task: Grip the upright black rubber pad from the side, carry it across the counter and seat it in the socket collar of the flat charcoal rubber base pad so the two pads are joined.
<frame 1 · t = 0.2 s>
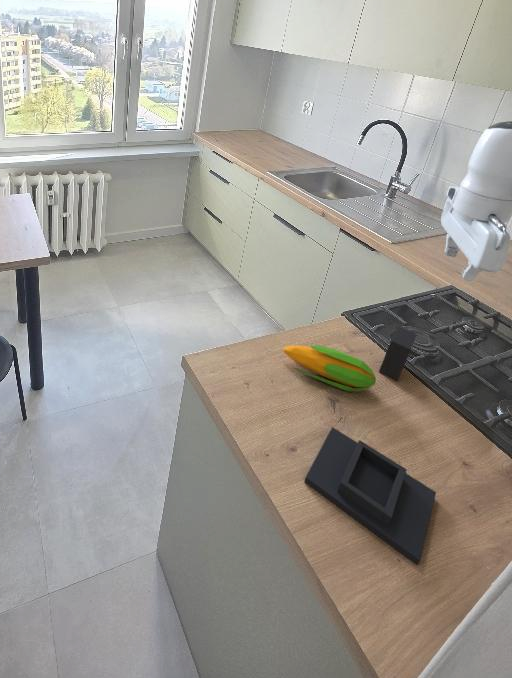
hand: (457, 266, 85), 33 cm above the counter, tool pointing down, fingers open, 8 cm apart
upright pad: (391, 368, 102), on the counter
corn: (323, 377, 99), on the counter
base pad: (368, 489, 76), on the counter
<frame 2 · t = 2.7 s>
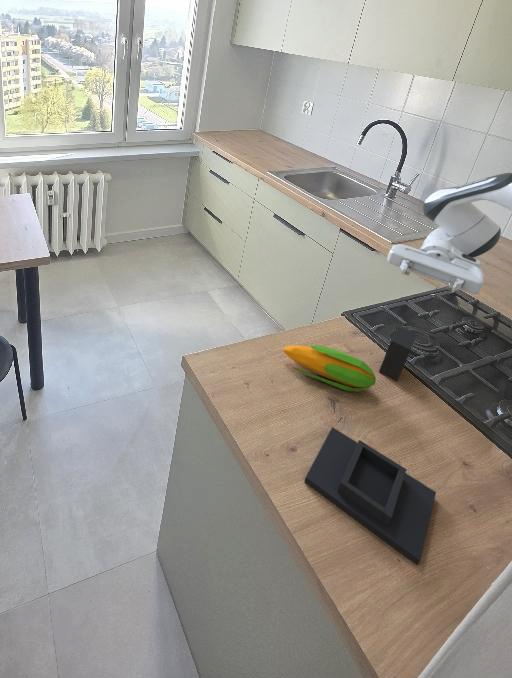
hand: (427, 280, 102), 20 cm above the counter, tool horizontal, fingers open, 8 cm apart
nothing on the counter moved.
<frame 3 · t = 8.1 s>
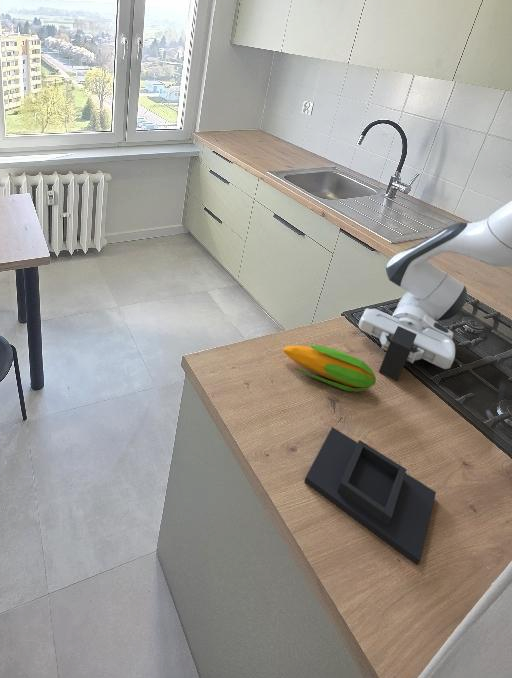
hand: (397, 353, 99), 6 cm above the counter, tool horizontal, fingers closed on upright pad, 4 cm apart
upright pad: (391, 368, 102), on the counter, touching gripper
everything else where it was.
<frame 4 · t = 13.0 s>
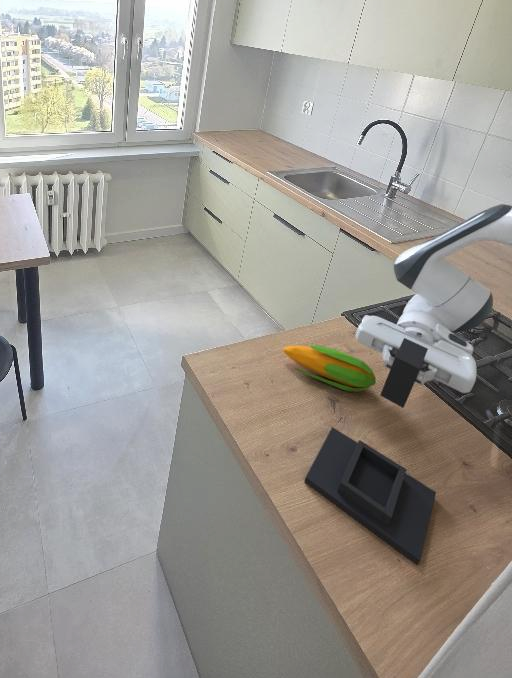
hand: (403, 373, 79), 17 cm above the counter, tool horizontal, fingers closed on upright pad, 4 cm apart
upright pad: (396, 390, 82), point 11 cm above the counter, touching gripper
everything else where it was.
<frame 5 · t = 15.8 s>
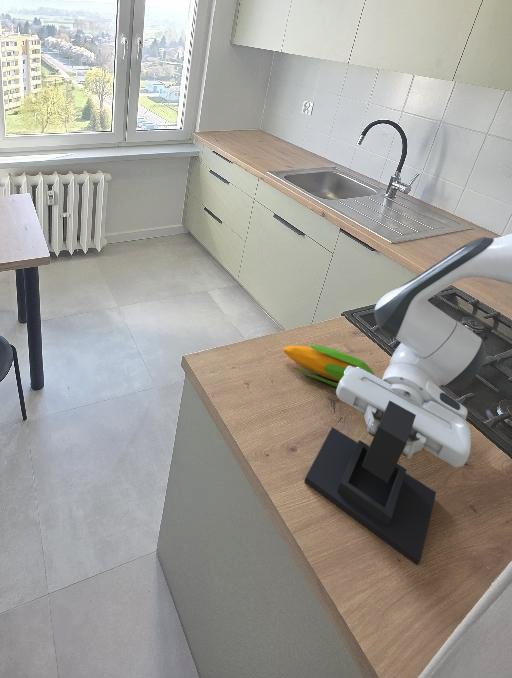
hand: (388, 442, 70), 14 cm above the counter, tool horizontal, fingers closed on upright pad, 4 cm apart
upright pad: (379, 460, 72), point 8 cm above the counter, touching gripper
everything else where it was.
when the fingers open (7 cm above the counter, at t = 18.0 s): upright pad stays where it is, resting on base pad.
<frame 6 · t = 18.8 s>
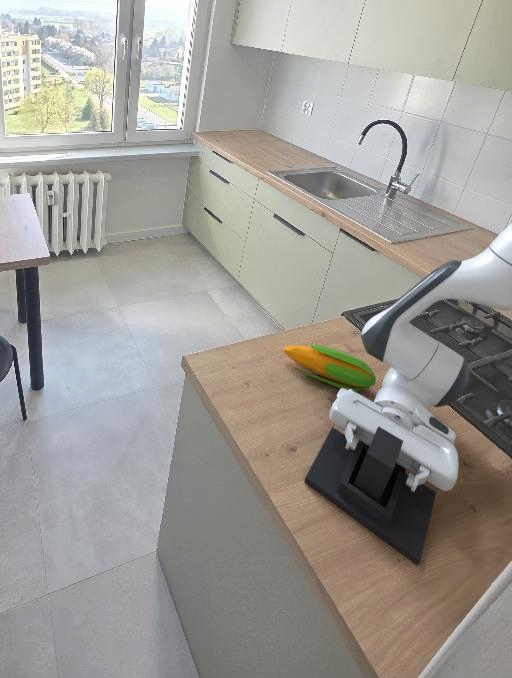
hand: (378, 466, 72), 8 cm above the counter, tool horizontal, fingers open, 8 cm apart
upright pad: (369, 483, 75), point 1 cm above the counter, touching base pad
everything else where it was.
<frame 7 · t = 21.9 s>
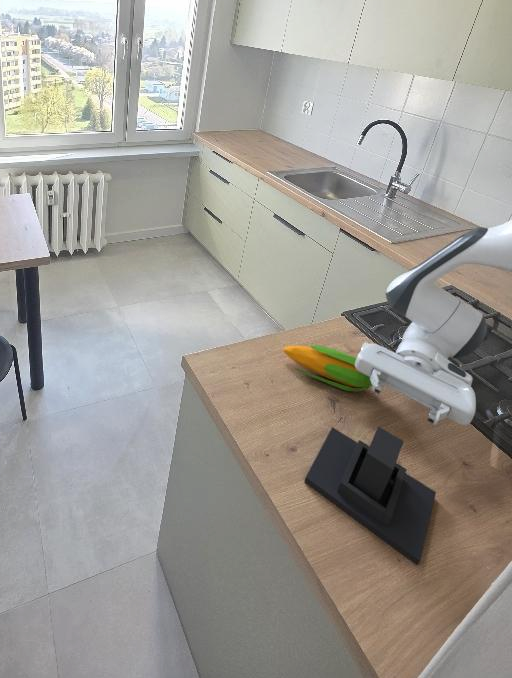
hand: (403, 405, 79), 11 cm above the counter, tool horizontal, fingers open, 8 cm apart
nothing on the counter moved.
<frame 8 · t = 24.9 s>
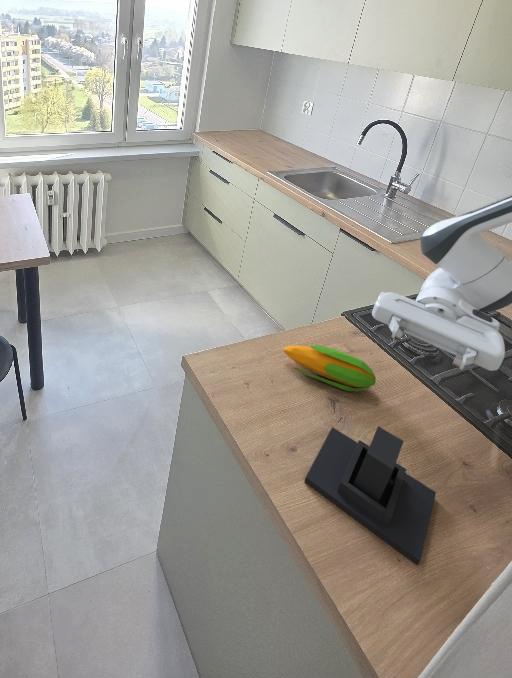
hand: (426, 350, 74), 25 cm above the counter, tool horizontal, fingers open, 8 cm apart
nothing on the counter moved.
at the end: upright pad 0.2 cm off-centre on the base pad, point 1.5 cm above the base pad's base; upright pad tilted 0°; the gripper is holding nothing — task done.
